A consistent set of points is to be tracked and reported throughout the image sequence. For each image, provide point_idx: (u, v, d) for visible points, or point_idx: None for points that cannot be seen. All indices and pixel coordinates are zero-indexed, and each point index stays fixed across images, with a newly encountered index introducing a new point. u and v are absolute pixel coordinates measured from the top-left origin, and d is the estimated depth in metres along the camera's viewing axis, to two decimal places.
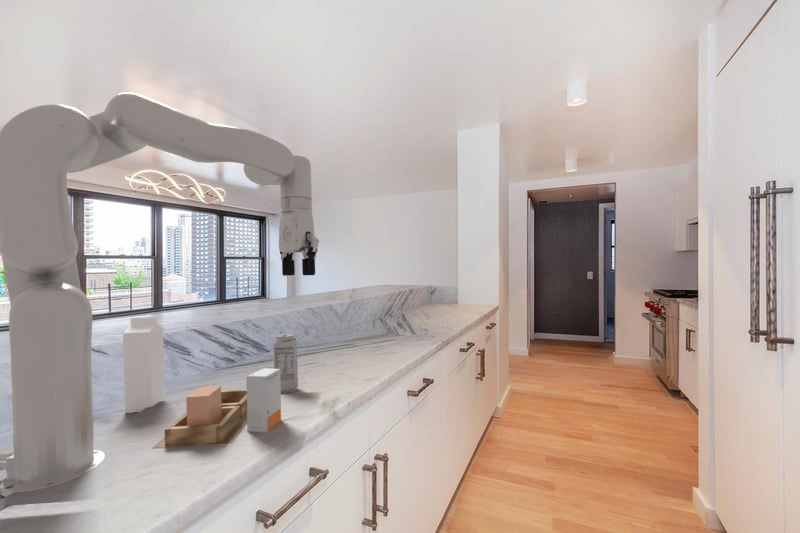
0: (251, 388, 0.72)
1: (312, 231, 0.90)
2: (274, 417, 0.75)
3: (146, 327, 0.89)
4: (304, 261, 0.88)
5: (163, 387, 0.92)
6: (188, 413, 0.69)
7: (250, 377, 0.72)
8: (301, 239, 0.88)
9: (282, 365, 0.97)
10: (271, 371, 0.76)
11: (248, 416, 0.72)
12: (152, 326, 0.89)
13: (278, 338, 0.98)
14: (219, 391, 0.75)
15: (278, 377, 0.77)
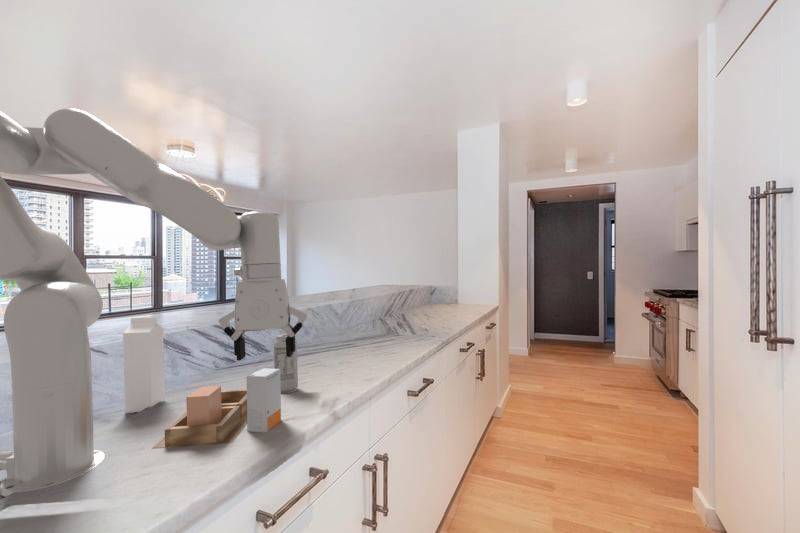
0: (251, 388, 0.72)
1: None
2: (274, 417, 0.75)
3: (146, 327, 0.89)
4: (289, 340, 0.74)
5: (163, 387, 0.92)
6: (188, 413, 0.69)
7: (250, 377, 0.72)
8: (287, 315, 0.74)
9: (282, 365, 0.97)
10: (271, 371, 0.76)
11: (248, 416, 0.72)
12: (152, 326, 0.89)
13: (278, 338, 0.98)
14: (219, 391, 0.75)
15: (278, 377, 0.77)
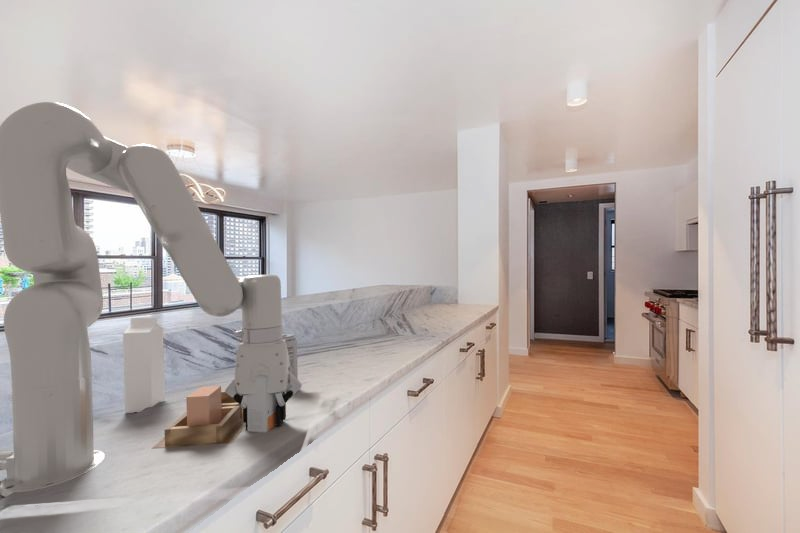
0: None
1: (289, 364, 0.77)
2: (274, 417, 0.75)
3: (146, 327, 0.89)
4: (280, 409, 0.74)
5: (163, 388, 0.92)
6: (188, 413, 0.69)
7: None
8: (287, 378, 0.74)
9: None
10: None
11: (248, 416, 0.72)
12: (152, 326, 0.89)
13: None
14: (219, 391, 0.75)
15: None
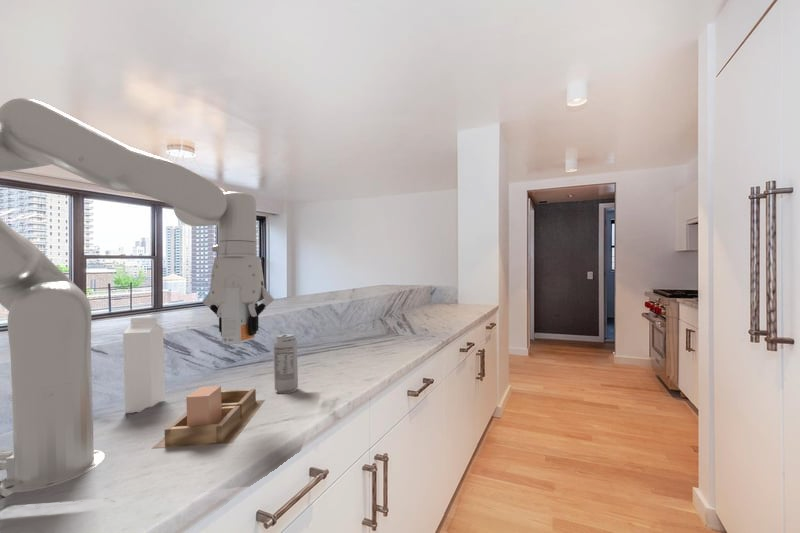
0: None
1: (263, 280, 0.81)
2: None
3: (146, 327, 0.89)
4: (251, 320, 0.79)
5: (163, 387, 0.92)
6: (188, 413, 0.69)
7: None
8: (259, 290, 0.78)
9: (282, 365, 0.97)
10: None
11: (222, 324, 0.77)
12: (152, 326, 0.89)
13: (278, 338, 0.98)
14: (219, 391, 0.75)
15: None
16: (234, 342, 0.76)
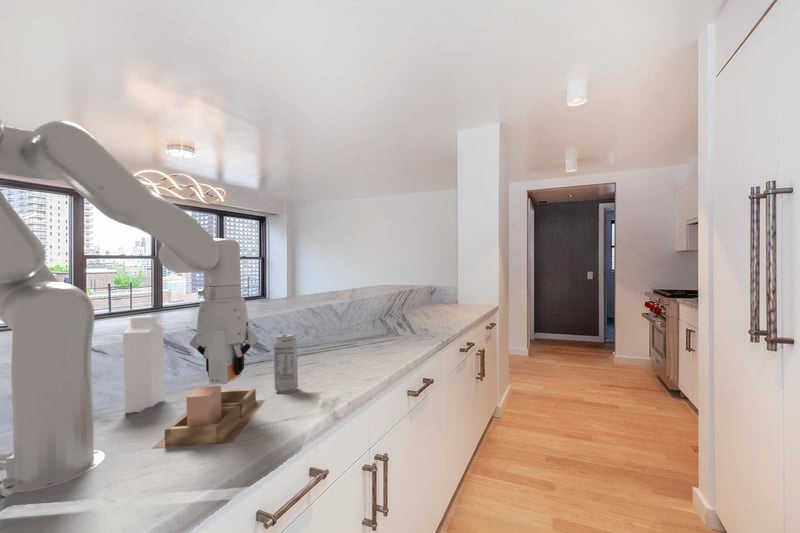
0: None
1: None
2: None
3: (146, 327, 0.89)
4: (237, 360, 0.83)
5: (163, 387, 0.92)
6: (188, 413, 0.69)
7: None
8: (244, 331, 0.82)
9: (282, 365, 0.97)
10: None
11: (209, 366, 0.81)
12: (152, 326, 0.89)
13: (278, 338, 0.98)
14: (219, 391, 0.75)
15: None
16: (221, 382, 0.80)
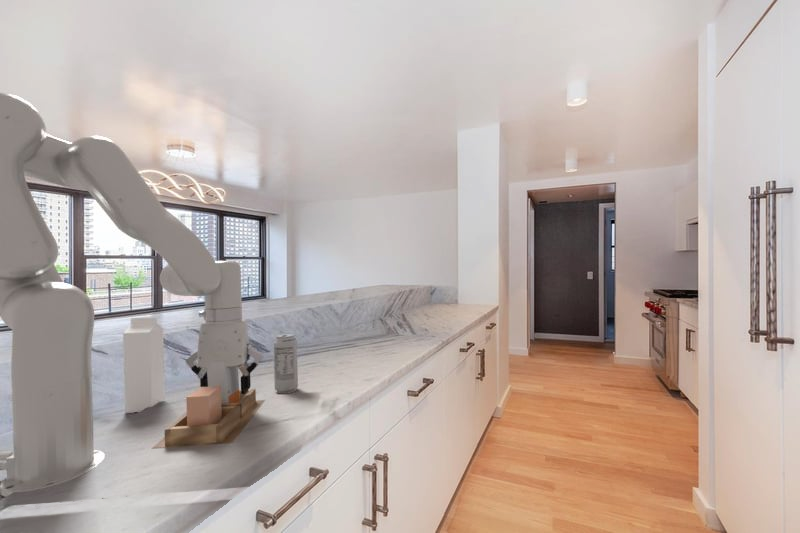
0: (211, 371, 0.81)
1: (248, 342, 0.85)
2: (234, 397, 0.83)
3: (146, 327, 0.89)
4: (244, 379, 0.83)
5: (163, 387, 0.92)
6: (188, 413, 0.69)
7: None
8: (245, 354, 0.82)
9: (282, 365, 0.97)
10: None
11: None
12: (152, 326, 0.89)
13: (278, 338, 0.98)
14: (219, 391, 0.75)
15: None
16: None
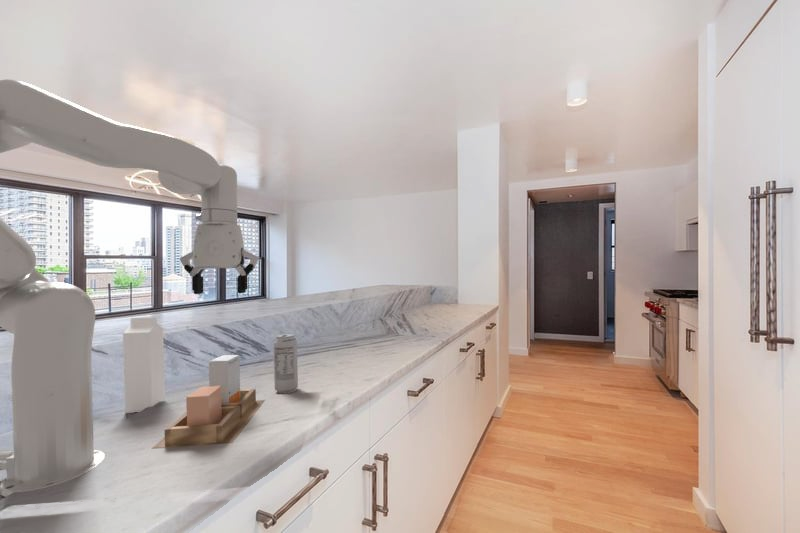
0: (213, 372, 0.80)
1: (243, 247, 0.87)
2: (235, 398, 0.83)
3: (146, 327, 0.89)
4: (241, 278, 0.85)
5: (163, 387, 0.92)
6: (188, 413, 0.69)
7: (212, 362, 0.81)
8: (239, 255, 0.84)
9: (282, 365, 0.97)
10: (231, 357, 0.84)
11: None
12: (152, 326, 0.89)
13: (278, 338, 0.98)
14: (219, 391, 0.75)
15: (238, 362, 0.85)
16: None
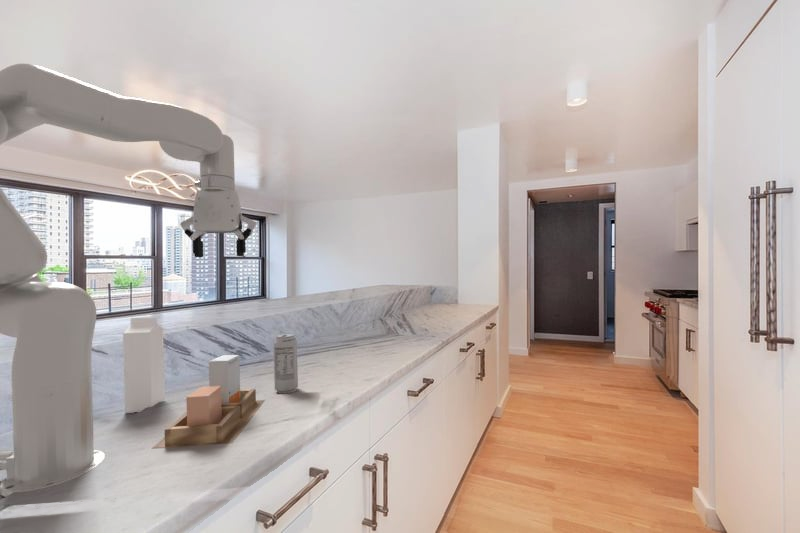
0: (213, 372, 0.80)
1: (241, 213, 0.91)
2: (235, 398, 0.83)
3: (146, 327, 0.89)
4: (239, 242, 0.89)
5: (163, 387, 0.92)
6: (188, 413, 0.69)
7: (212, 362, 0.81)
8: (237, 220, 0.88)
9: (282, 365, 0.97)
10: (231, 357, 0.84)
11: None
12: (152, 326, 0.89)
13: (278, 338, 0.98)
14: (219, 391, 0.75)
15: (237, 362, 0.85)
16: None
